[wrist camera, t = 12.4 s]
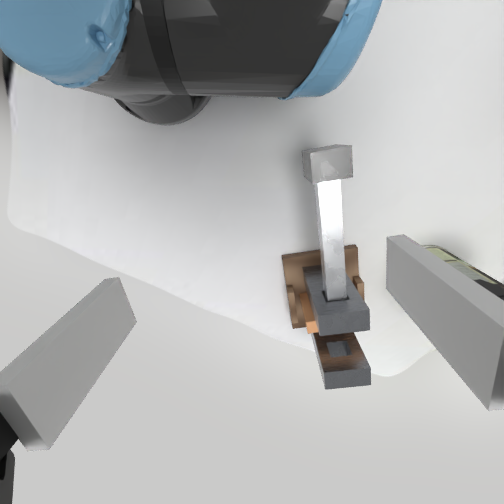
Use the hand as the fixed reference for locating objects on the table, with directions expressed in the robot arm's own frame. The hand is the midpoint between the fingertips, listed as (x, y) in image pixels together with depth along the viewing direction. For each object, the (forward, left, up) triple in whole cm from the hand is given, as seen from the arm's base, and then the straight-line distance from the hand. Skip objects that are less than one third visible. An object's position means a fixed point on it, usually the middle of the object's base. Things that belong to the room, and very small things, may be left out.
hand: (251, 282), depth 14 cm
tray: (+19, +8, -31) cm, 37 cm away
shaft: (+5, +8, -23) cm, 25 cm away
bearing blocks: (+20, +8, -29) cm, 36 cm away
